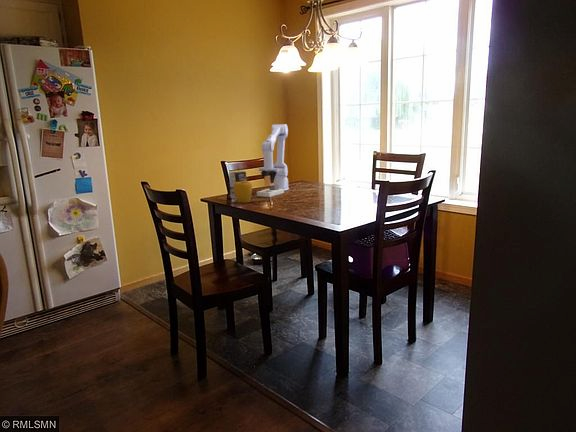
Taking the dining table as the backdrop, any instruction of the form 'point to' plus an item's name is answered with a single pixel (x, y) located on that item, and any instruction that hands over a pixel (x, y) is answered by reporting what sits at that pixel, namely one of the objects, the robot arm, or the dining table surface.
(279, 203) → the dining table surface
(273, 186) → the white rectangular base
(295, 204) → the dining table surface
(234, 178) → the coffee box
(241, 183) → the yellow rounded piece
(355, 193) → the dining table surface
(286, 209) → the dining table surface
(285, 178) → the robot arm
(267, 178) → the plug
